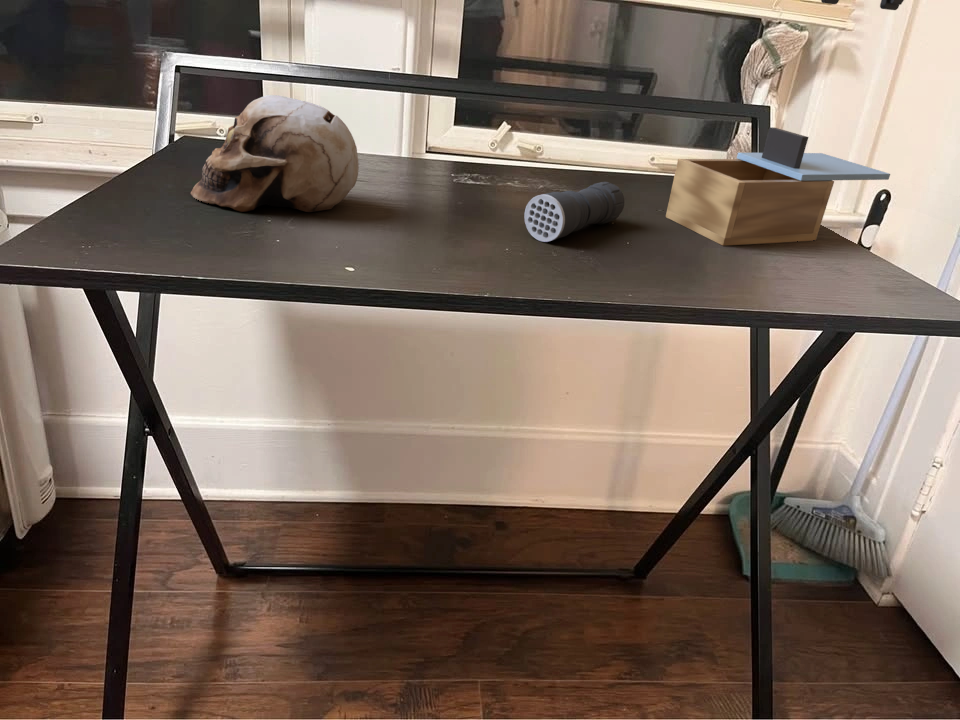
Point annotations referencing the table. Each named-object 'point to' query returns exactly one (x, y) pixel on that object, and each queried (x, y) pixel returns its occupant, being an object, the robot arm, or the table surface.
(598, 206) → the flashlight
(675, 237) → the table surface
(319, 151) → the beige skull model
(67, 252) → the table surface
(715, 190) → the oak box
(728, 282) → the table surface
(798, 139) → the sliding lid
